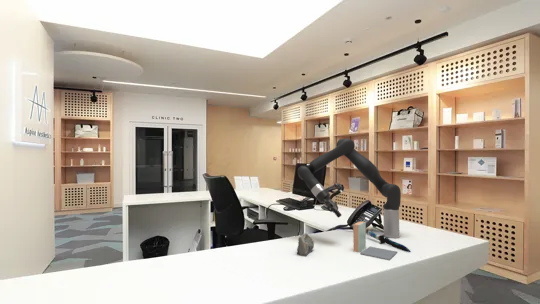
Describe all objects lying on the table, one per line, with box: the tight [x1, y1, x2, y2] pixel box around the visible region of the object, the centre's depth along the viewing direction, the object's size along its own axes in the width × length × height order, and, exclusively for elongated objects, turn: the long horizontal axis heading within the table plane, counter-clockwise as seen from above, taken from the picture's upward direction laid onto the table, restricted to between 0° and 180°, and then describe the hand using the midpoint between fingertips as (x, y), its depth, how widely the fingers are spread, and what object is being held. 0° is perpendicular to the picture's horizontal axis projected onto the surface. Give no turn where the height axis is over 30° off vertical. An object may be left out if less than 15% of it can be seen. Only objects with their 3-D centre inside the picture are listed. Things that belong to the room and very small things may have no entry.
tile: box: [352, 221, 367, 253], centre depth 146 cm, size 10×3×14 cm, turn 142°
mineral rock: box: [296, 233, 315, 256], centre depth 141 cm, size 13×11×10 cm
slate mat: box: [359, 246, 398, 261], centre depth 140 cm, size 15×14×1 cm
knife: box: [366, 229, 412, 253], centre depth 155 cm, size 31×3×4 cm, turn 21°
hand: (340, 216), depth 154 cm, fingers closed
